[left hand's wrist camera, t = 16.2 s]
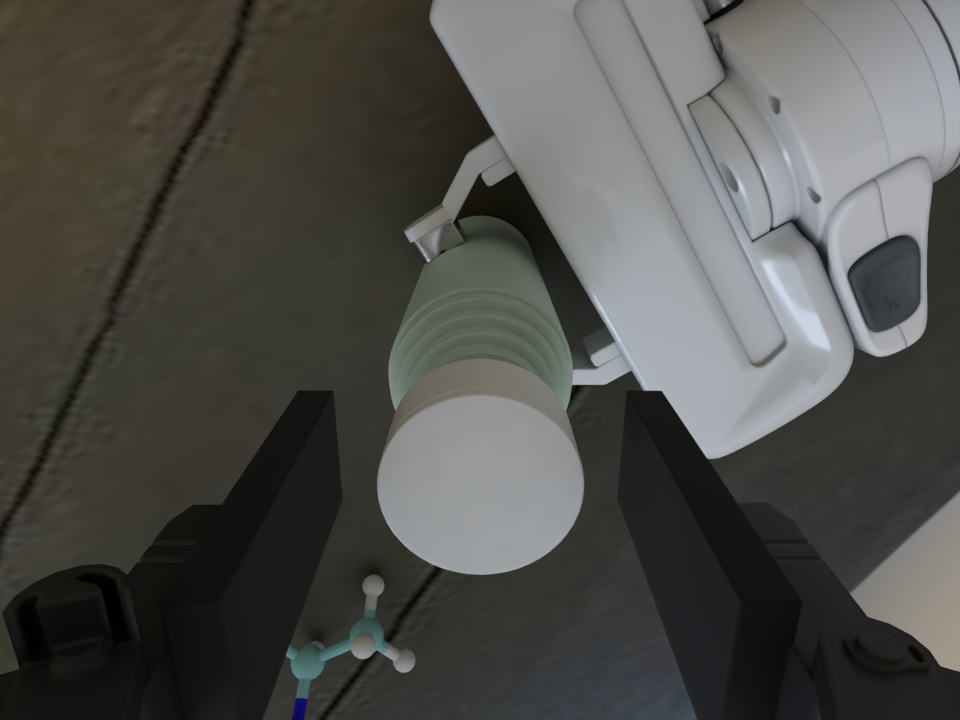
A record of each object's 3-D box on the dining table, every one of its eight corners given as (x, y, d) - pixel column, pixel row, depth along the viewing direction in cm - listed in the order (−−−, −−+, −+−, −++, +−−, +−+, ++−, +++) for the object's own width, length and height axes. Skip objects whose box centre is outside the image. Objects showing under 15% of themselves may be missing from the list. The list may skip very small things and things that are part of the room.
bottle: (459, 339, 33) (432, 615, 14) (406, 247, 31) (302, 428, 13) (552, 292, 32) (649, 522, 14) (504, 195, 30) (539, 309, 12)
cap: (606, 457, 15) (624, 506, 13) (464, 548, 16) (462, 607, 14) (499, 320, 14) (502, 352, 12) (352, 426, 14) (333, 472, 13)
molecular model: (395, 542, 32) (320, 775, 26) (439, 607, 39) (388, 801, 34) (201, 512, 35) (96, 713, 30) (274, 577, 43) (202, 749, 37)
